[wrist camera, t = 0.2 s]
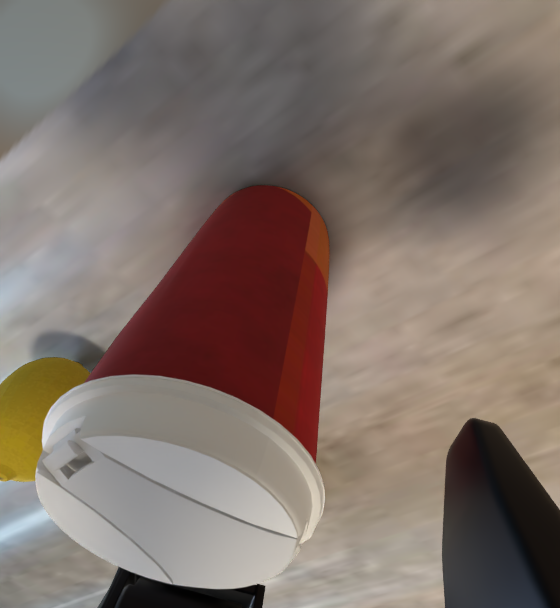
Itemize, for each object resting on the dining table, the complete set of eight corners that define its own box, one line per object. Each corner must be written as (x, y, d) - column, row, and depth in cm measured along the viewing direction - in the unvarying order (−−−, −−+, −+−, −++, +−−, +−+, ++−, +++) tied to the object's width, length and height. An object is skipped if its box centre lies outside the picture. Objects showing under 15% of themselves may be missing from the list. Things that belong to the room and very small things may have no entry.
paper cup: (157, 232, 25) (-33, 493, 14) (265, 121, 20) (119, 365, 9) (274, 333, 27) (194, 621, 16) (391, 251, 23) (391, 563, 12)
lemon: (16, 342, 31) (-79, 452, 25) (83, 319, 29) (-3, 432, 23) (74, 403, 34) (1, 516, 27) (140, 386, 32) (77, 504, 25)
